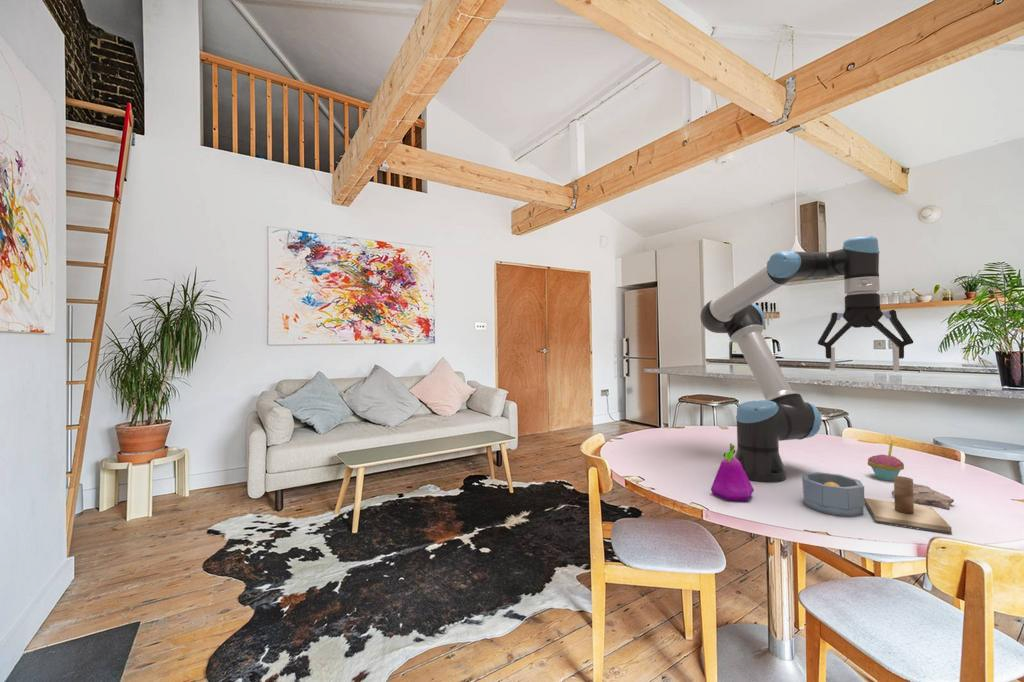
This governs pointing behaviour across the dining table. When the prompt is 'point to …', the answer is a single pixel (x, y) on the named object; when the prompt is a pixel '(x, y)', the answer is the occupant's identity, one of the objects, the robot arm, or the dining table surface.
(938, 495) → the stone
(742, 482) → the purple eggplant
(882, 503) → the board
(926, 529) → the mat
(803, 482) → the bowl
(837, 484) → the clementine
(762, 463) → the robot arm
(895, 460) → the cupcake
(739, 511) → the dining table surface
